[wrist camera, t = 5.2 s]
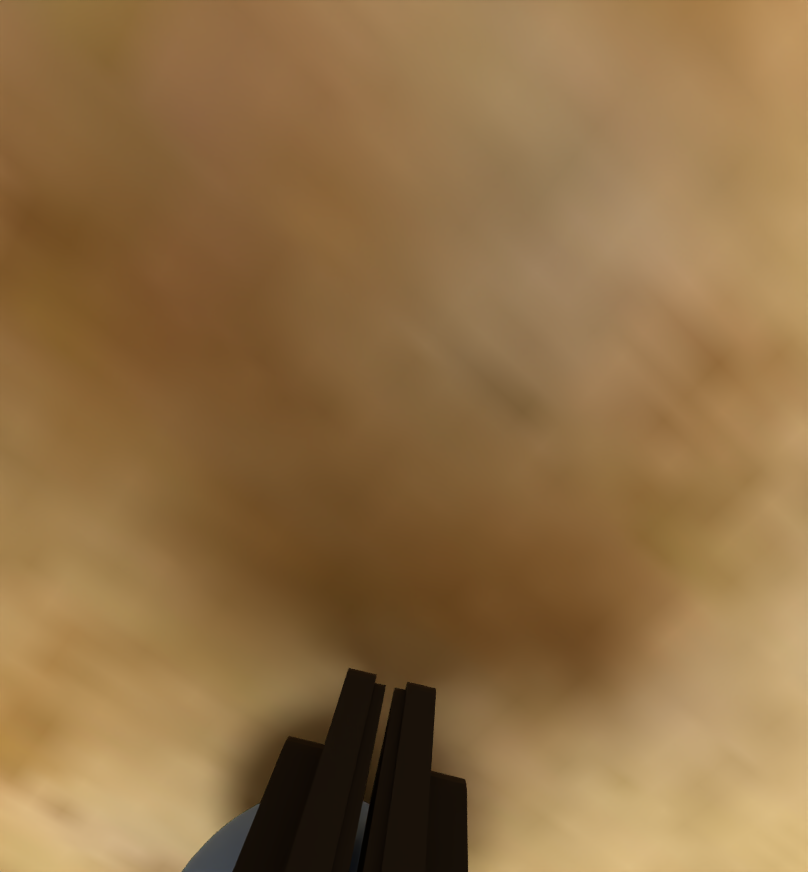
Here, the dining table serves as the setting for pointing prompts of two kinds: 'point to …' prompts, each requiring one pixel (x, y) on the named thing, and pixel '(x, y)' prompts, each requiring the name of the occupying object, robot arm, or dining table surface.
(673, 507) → the dining table surface
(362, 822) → the ball
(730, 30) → the dining table surface
